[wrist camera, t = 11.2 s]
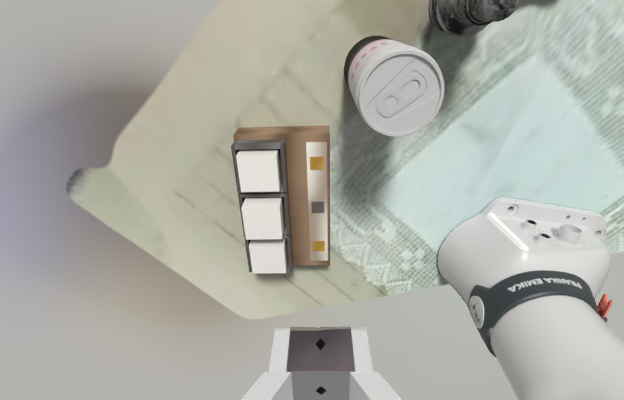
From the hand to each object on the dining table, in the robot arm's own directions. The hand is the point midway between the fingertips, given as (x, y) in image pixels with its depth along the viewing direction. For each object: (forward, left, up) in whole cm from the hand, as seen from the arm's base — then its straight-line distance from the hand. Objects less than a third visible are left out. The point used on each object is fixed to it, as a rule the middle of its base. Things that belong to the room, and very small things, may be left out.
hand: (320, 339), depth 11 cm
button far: (+7, +18, -29) cm, 35 cm away
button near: (+7, +6, -29) cm, 31 cm away
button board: (+4, +12, -33) cm, 35 cm away
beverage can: (-6, -4, -33) cm, 34 cm away
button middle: (+7, +12, -29) cm, 32 cm away
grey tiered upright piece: (-14, -10, -33) cm, 38 cm away
